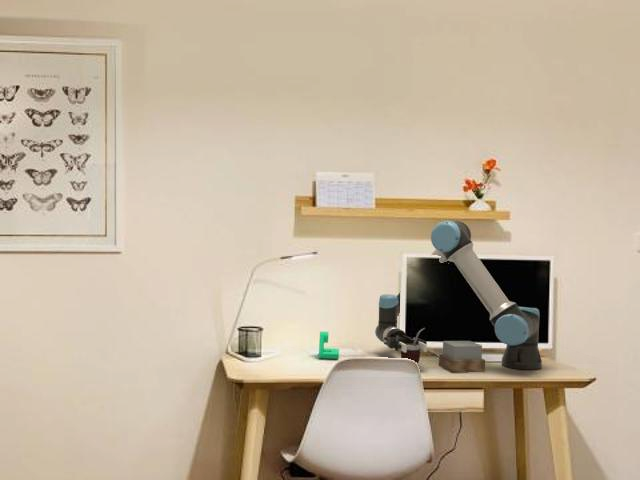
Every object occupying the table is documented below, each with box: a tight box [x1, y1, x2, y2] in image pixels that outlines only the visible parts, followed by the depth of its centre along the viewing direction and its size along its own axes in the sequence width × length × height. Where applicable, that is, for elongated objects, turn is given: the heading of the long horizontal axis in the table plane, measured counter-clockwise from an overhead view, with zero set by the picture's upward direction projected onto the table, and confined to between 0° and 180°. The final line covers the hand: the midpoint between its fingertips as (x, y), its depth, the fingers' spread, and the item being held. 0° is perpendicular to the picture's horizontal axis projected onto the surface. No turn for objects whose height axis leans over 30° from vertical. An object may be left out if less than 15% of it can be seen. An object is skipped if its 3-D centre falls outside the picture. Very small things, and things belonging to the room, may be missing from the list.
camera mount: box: [318, 331, 340, 360], centre depth 306 cm, size 12×8×10 cm, turn 178°
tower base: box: [438, 353, 486, 374], centre depth 292 cm, size 13×13×5 cm
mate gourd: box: [400, 327, 426, 364], centre depth 286 cm, size 8×8×15 cm
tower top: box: [442, 340, 483, 360], centre depth 292 cm, size 11×11×5 cm
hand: (415, 348), depth 281 cm, fingers closed on mate gourd, 7 cm apart
